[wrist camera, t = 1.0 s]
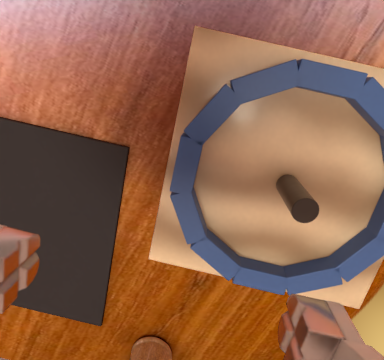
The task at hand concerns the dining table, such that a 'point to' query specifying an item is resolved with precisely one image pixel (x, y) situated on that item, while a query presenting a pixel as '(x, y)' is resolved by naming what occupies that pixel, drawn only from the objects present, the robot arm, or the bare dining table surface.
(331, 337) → the robot arm
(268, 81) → the ring
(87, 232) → the mat
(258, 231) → the platform
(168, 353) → the spice jar
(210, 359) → the dining table surface
